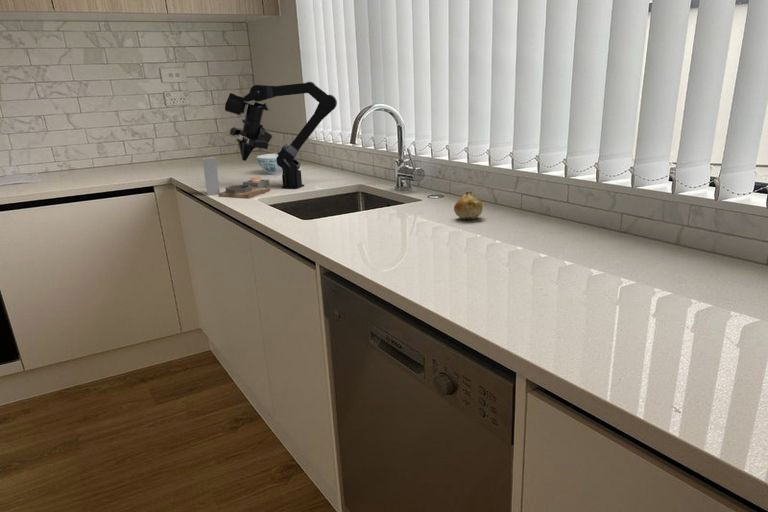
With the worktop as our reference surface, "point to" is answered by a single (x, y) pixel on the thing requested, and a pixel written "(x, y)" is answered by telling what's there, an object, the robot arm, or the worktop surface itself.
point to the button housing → (257, 183)
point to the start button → (255, 179)
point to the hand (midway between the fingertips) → (244, 160)
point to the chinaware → (269, 163)
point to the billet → (211, 176)
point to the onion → (468, 206)
